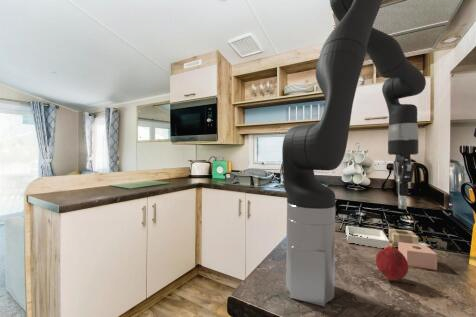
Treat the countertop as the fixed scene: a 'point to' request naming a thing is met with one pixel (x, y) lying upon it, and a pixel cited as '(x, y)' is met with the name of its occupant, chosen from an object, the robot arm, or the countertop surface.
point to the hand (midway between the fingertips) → (402, 194)
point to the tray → (374, 236)
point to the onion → (392, 263)
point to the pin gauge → (402, 199)
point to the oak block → (402, 237)
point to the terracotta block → (418, 255)
